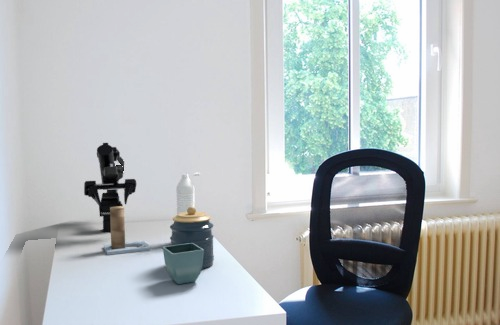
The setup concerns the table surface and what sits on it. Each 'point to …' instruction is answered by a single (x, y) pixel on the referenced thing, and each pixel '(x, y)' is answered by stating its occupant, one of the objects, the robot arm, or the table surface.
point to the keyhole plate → (128, 250)
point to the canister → (194, 232)
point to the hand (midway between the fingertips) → (113, 204)
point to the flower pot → (183, 262)
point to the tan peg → (117, 227)
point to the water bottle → (185, 193)
